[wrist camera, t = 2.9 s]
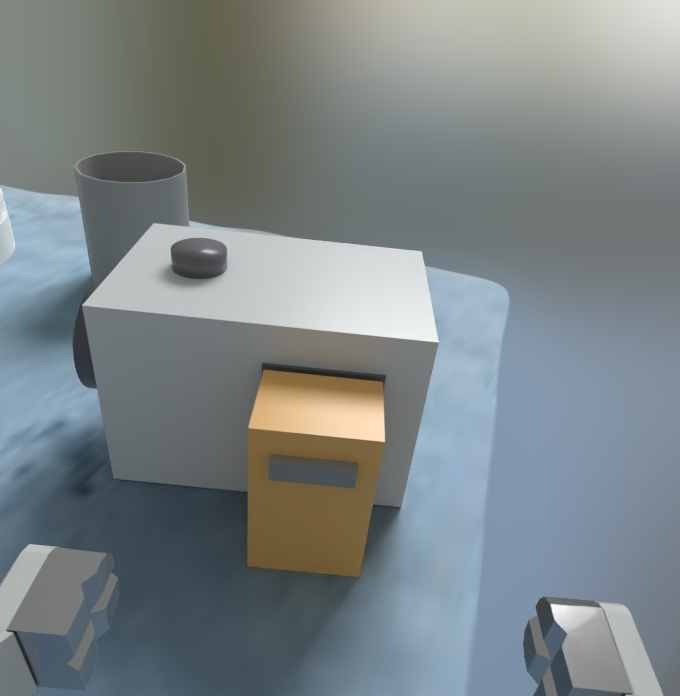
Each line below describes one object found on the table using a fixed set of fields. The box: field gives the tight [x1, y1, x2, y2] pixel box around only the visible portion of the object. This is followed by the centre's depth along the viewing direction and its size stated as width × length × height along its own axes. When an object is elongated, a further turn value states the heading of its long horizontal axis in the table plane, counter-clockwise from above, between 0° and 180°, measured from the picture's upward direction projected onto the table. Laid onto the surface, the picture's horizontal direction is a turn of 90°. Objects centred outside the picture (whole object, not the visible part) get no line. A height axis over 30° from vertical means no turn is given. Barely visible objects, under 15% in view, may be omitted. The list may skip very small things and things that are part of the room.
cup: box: [74, 151, 189, 285], centre depth 48 cm, size 8×8×10 cm
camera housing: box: [73, 223, 439, 507], centre depth 32 cm, size 10×19×12 cm, turn 87°
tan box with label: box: [247, 370, 385, 577], centre depth 27 cm, size 4×6×9 cm
